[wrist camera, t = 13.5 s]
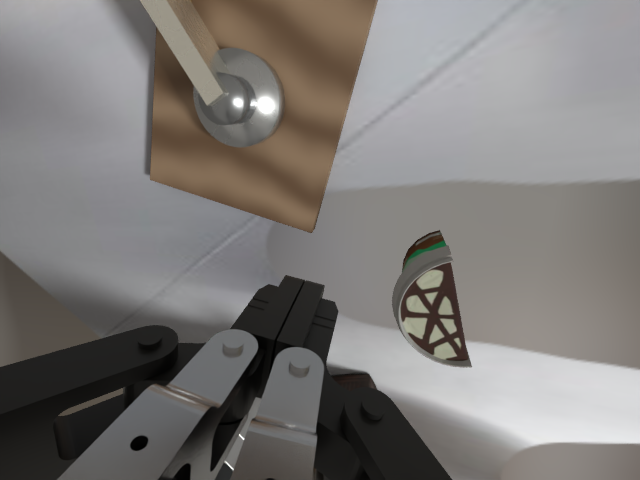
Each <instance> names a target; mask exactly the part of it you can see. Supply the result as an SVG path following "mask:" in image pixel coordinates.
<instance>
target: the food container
mask: <svg viewBox="0 0 640 480" xmlns="http://www.w3.org/2000/svg"><path fill="white" fill-rule="evenodd" d="M451 262H453V259H452V256H451V252H450V249H449V246H447V245H446V243H445V241H444V239H443V236H442V234H441V232H440V230H439V231H435V232H432V233H429V234H427V235H426V236H424V237H422V238H420V239H418V240H417V241H416V242H415V243H414V244H413V245H412V246H411V247H410V248H409V249H408V251H407V254H406V256H405V258H404V262H403V269H402V274H401V276H400V277H399V279H398V281H397V283H396V285H395V288H394V292H393V297H392V306H393V312H394V316H395V318H396V321H397V324H398V326H399V329H400V331H401V332H402V334H403V336H404V337H405V339H406V340H407V341H408V342H409V343H410V344H411V346H412V347H413V348H415V349H416V350H417V351H418V352H419V353H421V354H422V355H423V356H425V357H427V358H429V359H431V360H433V361H435V362H438V363H441V364H444V365H448V366H453V367H472V366H471V362H470V359H469V355H468V352H467V348H466V345H465V339H464V333H463V328H462V322H461V316H460V311H459V306H458V300H457V294H456V288H455V283H454V277H453V271H452V267H451Z"/></svg>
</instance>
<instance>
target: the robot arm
mask: <svg viewBox="0 0 640 480" xmlns="http://www.w3.org/2000/svg"><path fill="white" fill-rule="evenodd" d="M323 291H324V285H322V284H318V283H314V282H310V281H305V280H302V279H299V278H294V277H291V276H287V275H286V276H285V277H284V279H283V280H282V282H281V283H280V285H279V287H277V286H274V285H270V284H268V285H266V286H265V287H263V288H261V289H259V290H258V291H257V292H256V294H255V295H254V297H253V299H251V301H250V302H249V304H248V306H246V308H245V309H244V311H243V312H242V313H241V315H240V316H239V317H238V319H237V320H236V322H235V323H234V324H233V326H232V327H231V329H229V330H224V331H221V332H219V333H217V334H215V335H214V336H213V337H212V338H211V339H210V340H209V341H208V342H207V343H202V344H194V343H178V336H177V334H176V333H175V331H173V330H172V329H170V328H168V327H165V326H159V325H152V326H145V327H141V328H138V329H134V330H131V331H127V332H123V333H120V334H116V335H113V336H109V337H106V338H102V339H99V340H95V341H92V342H88V343H84V344H81V345H77V346H74V347H70V348H67V349H63V350H59V351H56V352H52V353H49V354H45V355H42V356H38V357H35V358H31V359H27V360H24V361H20V362H17V363H13V364H10V365H6V366H3V367H0V480H312V474H313V467H314V468H315V469H316V470H318V471H319V472H320V473H322V474H323V475H324V480H452V479H451V478H450V476H449V475H448V474H447V472H446V471H445V470H444V468H443V467H442V466H441V464H440V463H439V462H438V460H437V459H436V458H435V456H434V455H433V454H432V452H431V451H430V450H429V449H428V447H427V446H426V445H425V443H424V442H423V441H422V439H421V438H420V437H419V435H418V434H417V433H416V431H415V430H414V429H413V427H412V426H411V425H410V424H409V422H408V421H407V420H406V418H405V417H404V416H403V414H402V413H401V412H400V410H399V409H398V408H397V406H396V405H395V404H394V402H393V401H392V400H391V399H390V398H389V397H388V396H387V395H385V394H384V393H382V392H381V391H379V390H376V389H374V388H370V387H359V388H356V389H353V390H352V391H349V390H347V389H345V388H344V387H342V386H341V385H339V384H338V383H337V382H336V381H335V380H334V379H333V378H332V377H331V376H330V374H329V372H328V370H327V366H326V361H327V356H328V352H329V348H330V344H331V340H332V335H333V331H334V327H335V323H336V319H337V315H338V309H337V307H336V304H335V302H333V301H330V300H325V299H322V295H323ZM121 388H123V394H121V395H119V396H116V397H113V398H111V399H108V400H106V401H103V402H101V403H98V404H96V405H93V406H91V407H88V408H85V409H83V410H80V411H77V412H75V413H72V414H70V415H66V416H58V415H59V414H60V413H62V412H63V411H65V410H66V409H68V408H70V407H73V406H76V405H79V404H81V403H84V402H86V401H89V400H92V399H94V398H97V397H100V396H102V395H105V394H108V393H110V392H113V391H116V390H118V389H121Z"/></svg>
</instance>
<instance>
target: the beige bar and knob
mask: <svg viewBox="0 0 640 480" xmlns="http://www.w3.org/2000/svg"><path fill="white" fill-rule="evenodd" d="M140 1H141V3H142V5H143V6H144V8H145V9H146V11H147V12H148V14H149V16H150V17H151V19H152V20H153V22H154V23H155V25H156V27H157V28H158V30H159V31H160V33H161V34H162V36H163V38H164V39H165V41H166V42H167V44H168V45H169V47H170V49H171V50H172V52H173V53H174V55H175V56H176V58H177V60H178V61H179V63H180V64H181V66H182V67H183V69H184V70H185V72H186V74H187V75H188V77H189V78H190V80H191V81H192V83H193V85H194V88H193V97H194V104H195V108H196V112H197V114H198V117H199V119H200V121H201V123H202V124H203V126H204V127H205V129H206V130H207V131H208V132H209V133H210V134H211V135H212V136H213V137H214V138H215V139H217V140H218V141H220V142H222V143H224V144H226V145H229V146H232V147H248V146H252V145H256V144H259V143H262V142H264V141H266V140H267V139H269V138H270V137H271V136H272V135H273V134H274V133H275V132H276V130H277V129H278V128H279V126H280V124H281V122H282V119H283V116H284V111H285V93H284V89H283V85H282V82H281V80H280V78H279V76H278V74H277V72H276V71H275V69H274V68H273V67H272V66H271V65H270V64H269V63H268V62H267V61H266V60H265V59H263V58H262V57H260V56H258V55H256V54H254V53H251V52H249V51H246V50H243V49H239V48H225V49H221V50H220V49H219V47H218V46H217V44H216V42H215V41H214V39H213V37H212V36H211V34H210V32H209V31H208V29H207V27H206V26H205V24H204V22H203V21H202V19H201V17H200V16H199V14H198V12H197V11H196V9H195V8H194V6H193V4H192V3H191V1H190V0H140Z"/></svg>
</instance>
